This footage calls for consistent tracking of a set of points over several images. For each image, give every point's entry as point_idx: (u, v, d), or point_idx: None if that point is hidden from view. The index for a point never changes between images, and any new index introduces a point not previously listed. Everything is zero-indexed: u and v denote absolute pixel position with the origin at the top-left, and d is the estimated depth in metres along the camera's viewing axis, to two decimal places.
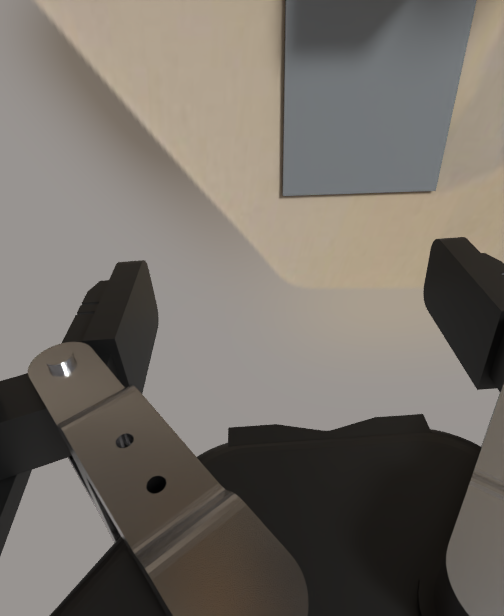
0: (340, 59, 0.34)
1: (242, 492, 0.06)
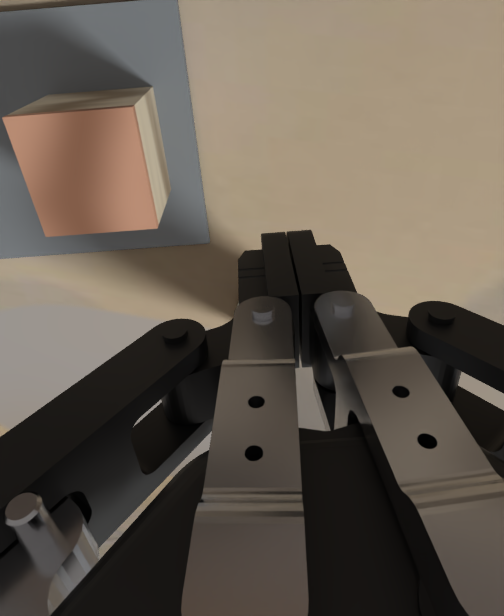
0: None
1: None
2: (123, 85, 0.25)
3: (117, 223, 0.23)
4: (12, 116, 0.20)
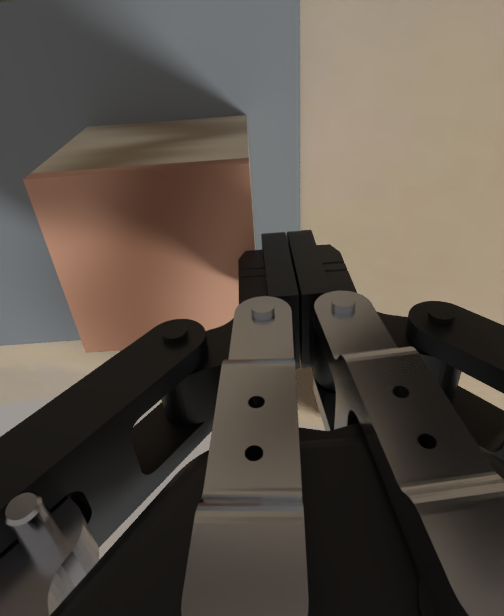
0: None
1: None
2: (201, 113, 0.17)
3: None
4: (40, 177, 0.12)
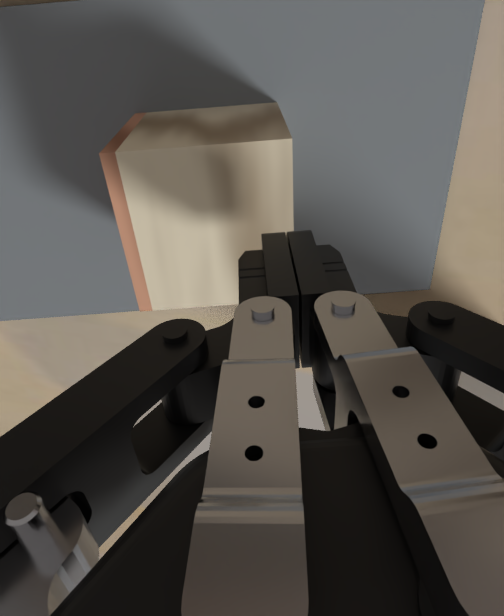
0: None
1: None
2: (380, 90, 0.18)
3: None
4: (136, 115, 0.18)
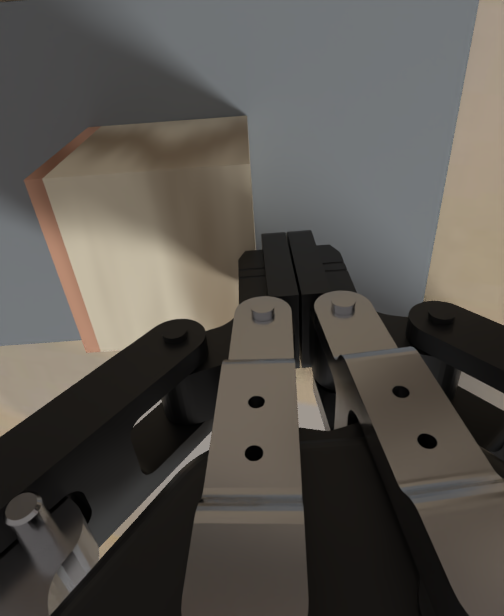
0: None
1: None
2: (362, 102, 0.16)
3: None
4: (88, 130, 0.16)
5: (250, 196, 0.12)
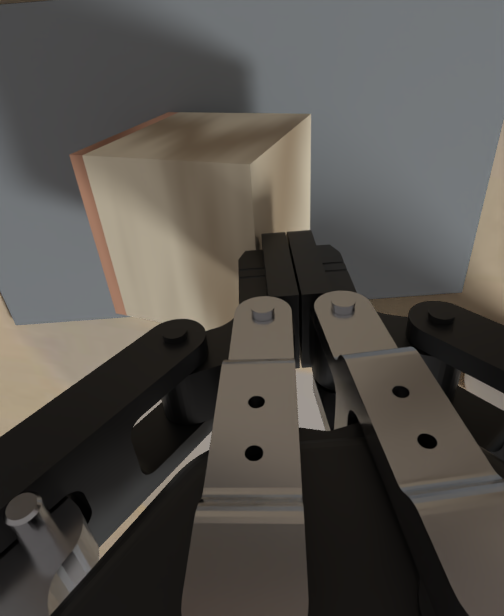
0: None
1: None
2: (421, 88, 0.18)
3: None
4: (165, 114, 0.18)
5: (251, 196, 0.12)
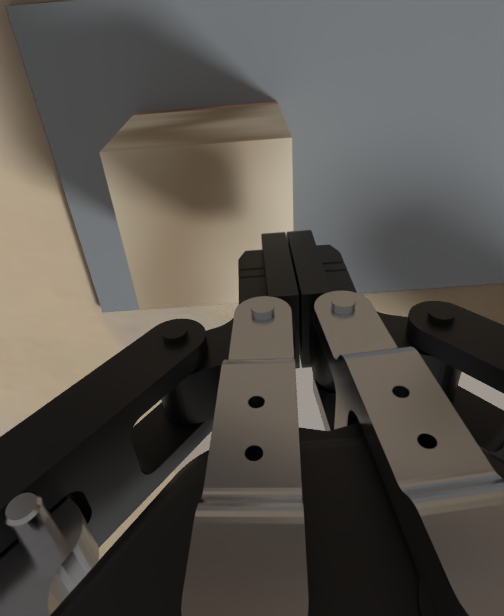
0: (295, 107, 0.19)
1: None
2: None
3: None
4: (267, 103, 0.19)
5: (106, 179, 0.14)
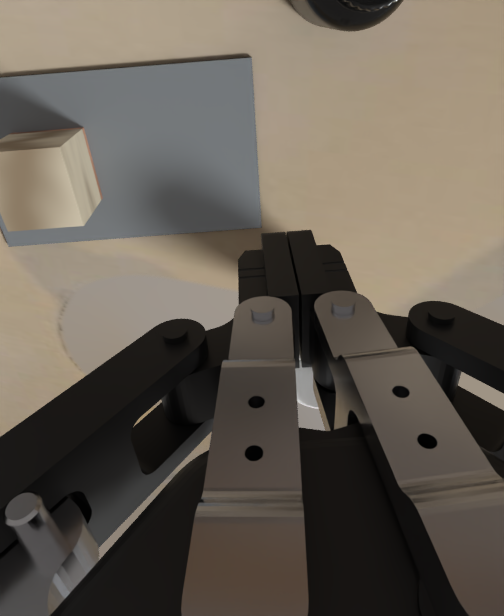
0: (94, 130, 0.36)
1: None
2: (209, 115, 0.36)
3: None
4: (78, 128, 0.36)
5: None
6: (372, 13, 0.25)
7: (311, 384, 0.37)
